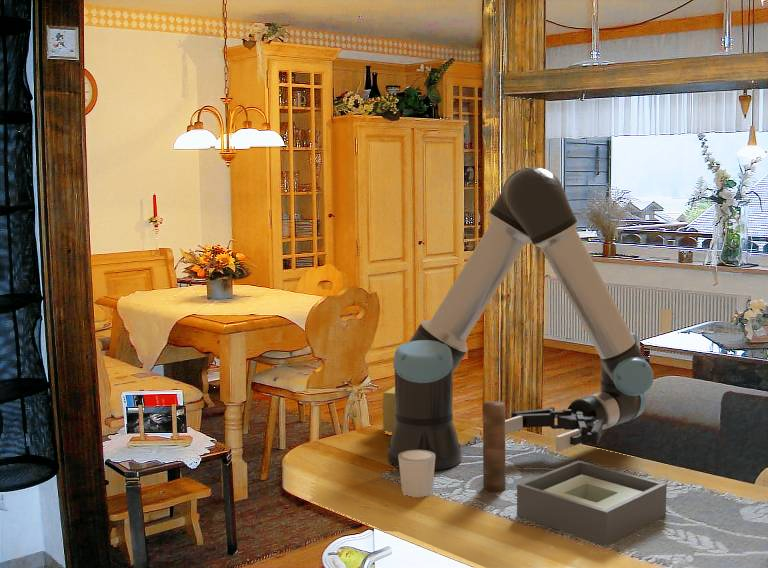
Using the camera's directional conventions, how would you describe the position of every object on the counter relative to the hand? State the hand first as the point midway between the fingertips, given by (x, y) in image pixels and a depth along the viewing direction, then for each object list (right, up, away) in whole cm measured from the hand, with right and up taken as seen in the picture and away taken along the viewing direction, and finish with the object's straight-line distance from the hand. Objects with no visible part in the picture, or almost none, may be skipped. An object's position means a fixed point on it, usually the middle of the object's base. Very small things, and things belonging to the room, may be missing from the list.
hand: (527, 436), depth 169 cm
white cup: (-21, -9, -6) cm, 24 cm away
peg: (-7, -9, -5) cm, 12 cm away
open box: (+8, -10, -19) cm, 22 cm away
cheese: (-21, -5, +32) cm, 39 cm away
